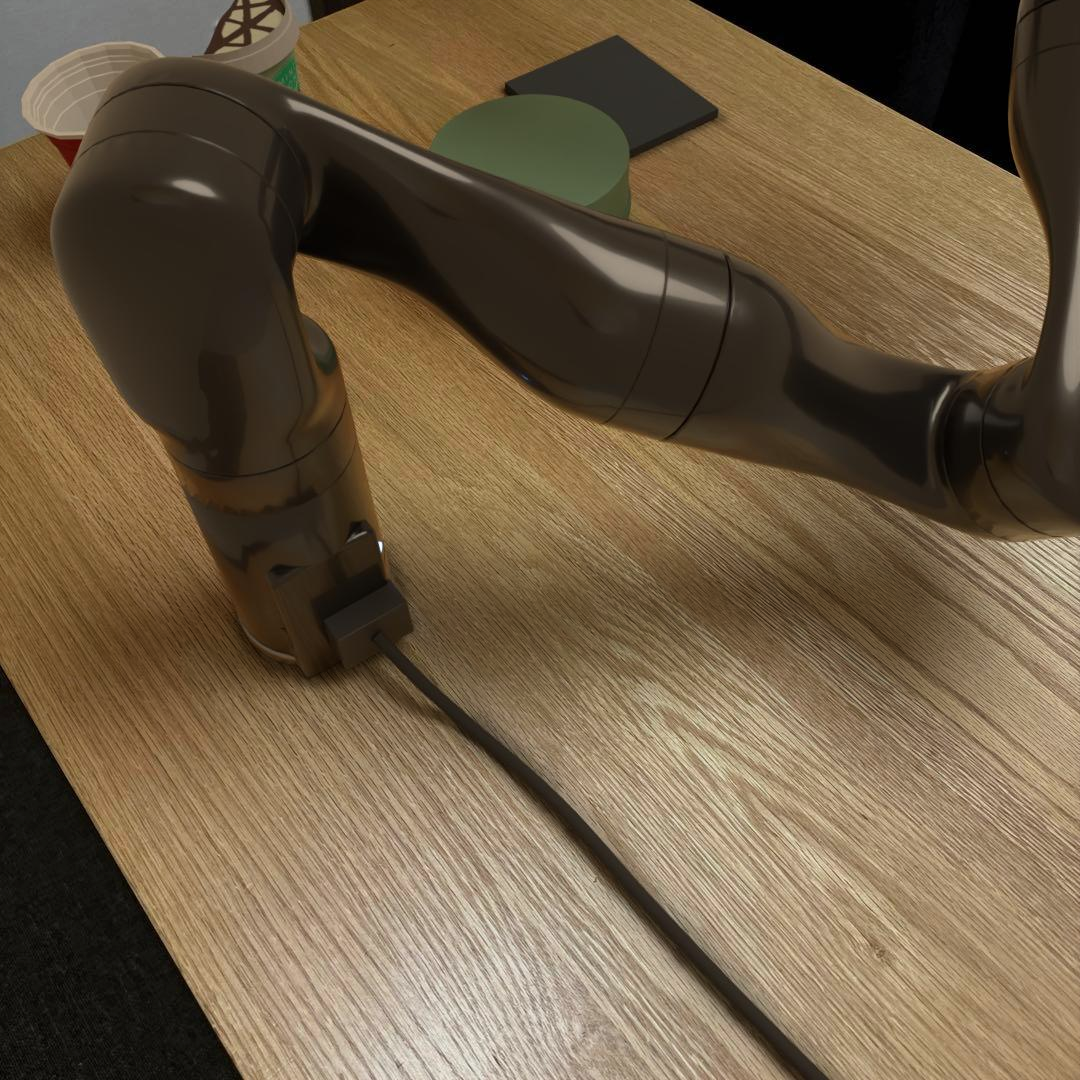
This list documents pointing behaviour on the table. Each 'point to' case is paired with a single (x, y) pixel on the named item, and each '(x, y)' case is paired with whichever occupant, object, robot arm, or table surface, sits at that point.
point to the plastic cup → (77, 90)
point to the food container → (258, 40)
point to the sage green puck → (545, 148)
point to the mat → (622, 91)
